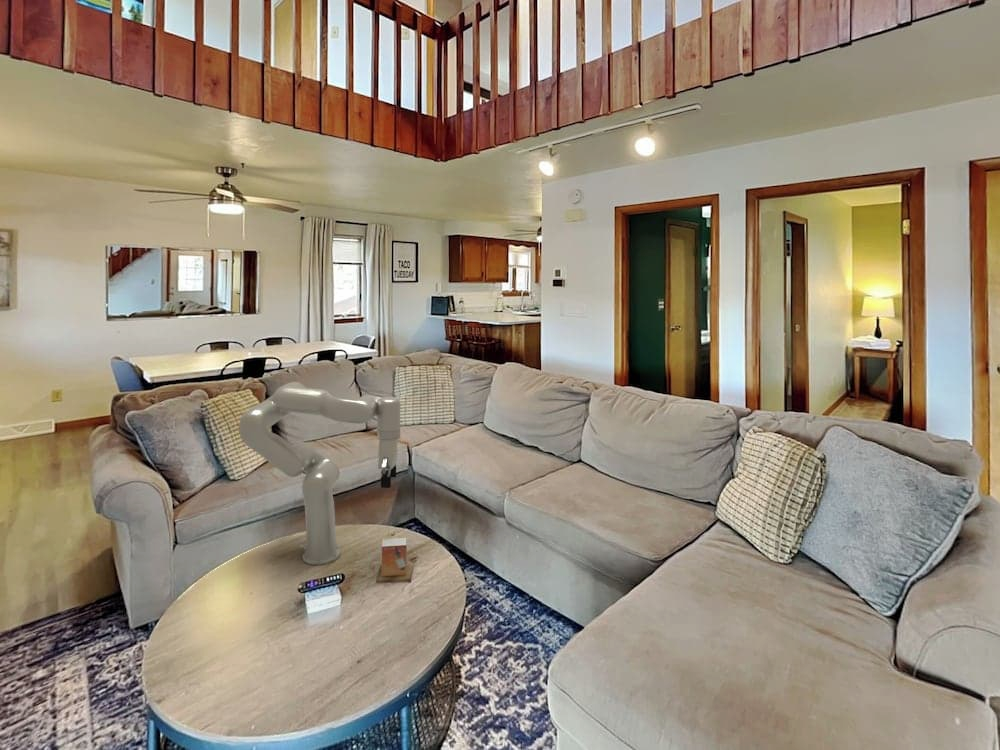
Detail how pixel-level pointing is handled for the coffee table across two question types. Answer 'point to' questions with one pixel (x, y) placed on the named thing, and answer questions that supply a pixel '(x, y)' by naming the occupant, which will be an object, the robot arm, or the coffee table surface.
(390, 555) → the small box
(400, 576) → the walnut coaster board
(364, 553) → the coffee table surface
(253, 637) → the coffee table surface
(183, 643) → the coffee table surface
